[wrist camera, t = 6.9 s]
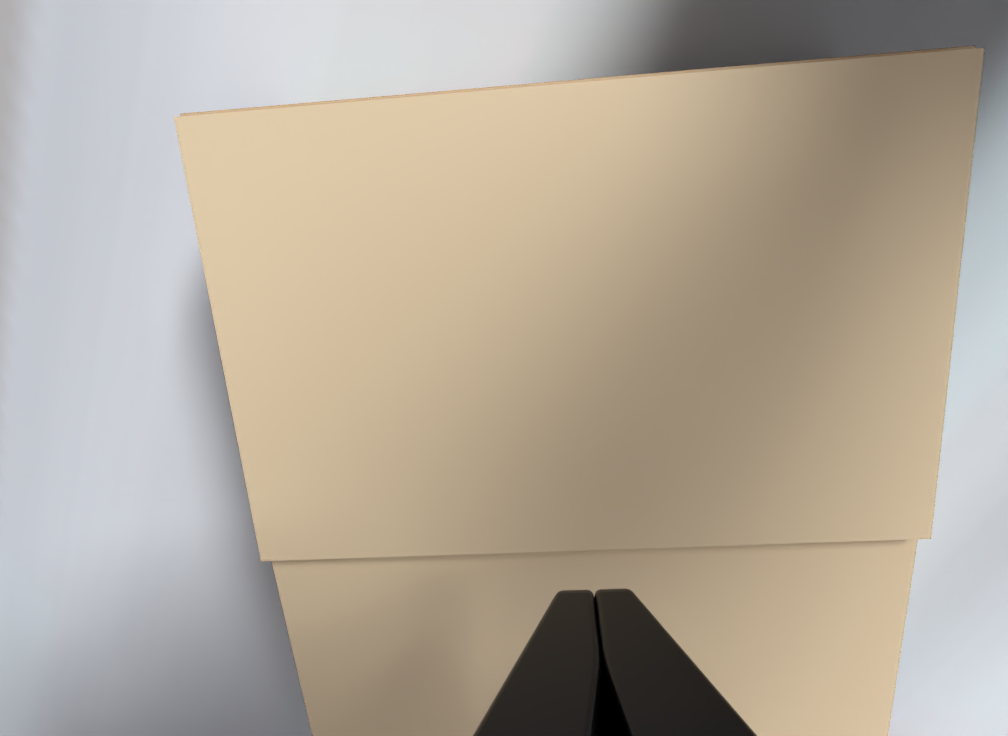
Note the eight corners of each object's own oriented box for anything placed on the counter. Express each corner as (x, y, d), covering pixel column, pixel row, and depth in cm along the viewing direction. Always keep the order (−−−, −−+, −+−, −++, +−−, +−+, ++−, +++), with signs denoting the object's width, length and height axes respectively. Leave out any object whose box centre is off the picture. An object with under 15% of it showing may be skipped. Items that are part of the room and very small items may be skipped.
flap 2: (905, 512, 15) (918, 528, 14) (862, 812, 18) (872, 834, 18) (279, 535, 16) (269, 551, 15) (341, 814, 19) (335, 836, 19)
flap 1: (963, 53, 12) (984, 47, 11) (915, 523, 14) (931, 539, 14) (190, 118, 13) (173, 116, 12) (271, 546, 16) (260, 561, 15)
